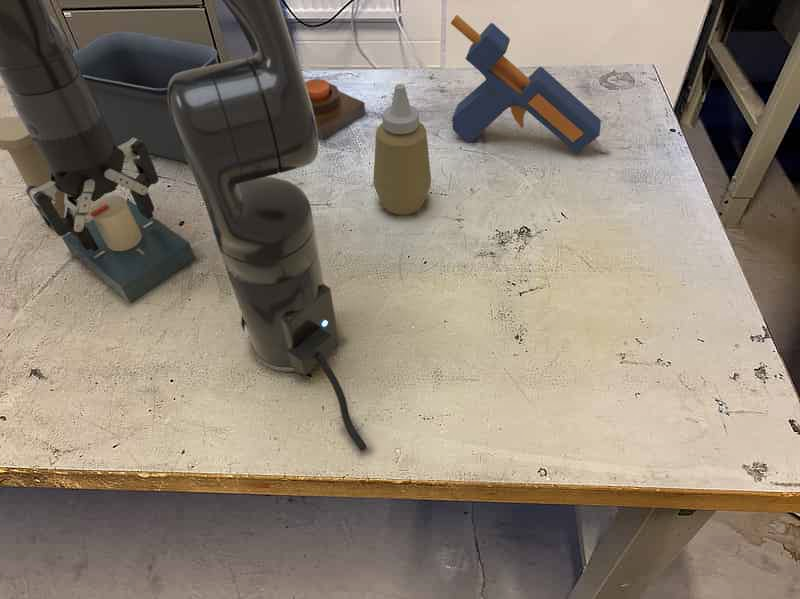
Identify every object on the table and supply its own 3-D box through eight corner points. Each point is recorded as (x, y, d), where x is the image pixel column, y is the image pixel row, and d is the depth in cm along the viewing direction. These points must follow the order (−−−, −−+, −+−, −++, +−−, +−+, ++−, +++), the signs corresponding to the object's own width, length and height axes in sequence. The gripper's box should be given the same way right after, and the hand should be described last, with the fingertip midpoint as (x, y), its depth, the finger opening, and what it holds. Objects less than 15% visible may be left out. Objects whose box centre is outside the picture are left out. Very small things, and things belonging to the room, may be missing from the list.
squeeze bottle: (365, 195, 87) (355, 80, 73) (414, 179, 89) (413, 64, 76) (390, 228, 82) (384, 110, 69) (441, 209, 84) (445, 92, 71)
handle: (68, 237, 82) (12, 144, 71) (35, 224, 84) (-24, 132, 73) (94, 216, 85) (44, 124, 74) (62, 204, 87) (9, 112, 76)
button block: (365, 114, 101) (363, 92, 98) (323, 140, 96) (320, 118, 93) (316, 91, 107) (313, 70, 104) (274, 115, 102) (269, 94, 99)
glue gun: (546, 204, 100) (619, 150, 90) (398, 96, 90) (460, 20, 79) (547, 180, 104) (617, 125, 93) (405, 74, 94) (465, -1, 83)
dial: (129, 223, 79) (112, 189, 75) (149, 237, 77) (133, 202, 73) (100, 241, 77) (81, 207, 73) (119, 256, 75) (101, 221, 71)
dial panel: (195, 259, 79) (188, 241, 77) (130, 303, 74) (120, 286, 72) (135, 215, 85) (127, 198, 83) (71, 253, 80) (60, 236, 78)
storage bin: (89, 151, 96) (47, 66, 85) (150, 103, 105) (119, 21, 95) (199, 180, 90) (170, 93, 80) (253, 126, 100) (233, 42, 89)
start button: (335, 94, 99) (334, 84, 98) (316, 105, 97) (315, 95, 95) (317, 85, 101) (315, 76, 100) (298, 96, 99) (296, 86, 97)
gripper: (104, 79, 69) (151, 192, 81) (-20, 134, 62) (53, 248, 74) (140, 101, 66) (184, 215, 78) (14, 161, 59) (84, 276, 71)
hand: (120, 231), depth 76 cm, fingers open, 7 cm apart
